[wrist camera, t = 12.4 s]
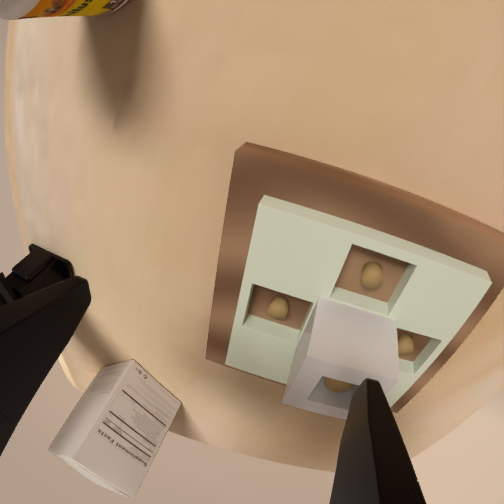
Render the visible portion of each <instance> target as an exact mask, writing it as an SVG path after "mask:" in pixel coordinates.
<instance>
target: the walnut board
mask: <svg viewBox="0 0 504 504" xmlns="http://www.w3.org/2000/svg"><path fill="white" fill-rule="evenodd" d="M264 195H267V196H270V197H274V198H277V199H280V200H284V201H287V202H291V203H294V204H297V205H300V206H304V207H307V208H310V209H314V210H317V211H320V212H323V213H326V214H329V215H333V216H336V217H339V218H342V219H345V220H348V221H351V222H354V223H357V224H360V225H363V226H366V227H369V228H372V229H375V230H378V231H381V232H384V233H387V234H389V235H392V236H395V237H398V238H401V239H404V240H406V241H409V242H412V243H415V244H418V245H420V246H423V247H426V248H429V249H431V250H434V251H437V252H439V253H442V254H445V255H447V256H450V257H452V258H455V259H458V260H460V261H463V262H465V263H468V264H470V265H473V266H475V267H478V268H480V269H483V270H485V271H487V273H488V275H489V277H490V279H491V282H492V284H491V286H490V287H489V289H488V290H487V292H486V293H485V295H484V296H483V298H482V299H481V301H480V302H479V303H478V305H477V306H476V308H475V309H474V310H473V312H472V313H471V315H470V316H469V317H468V319H467V320H466V321H465V323H464V324H463V325H462V327H461V328H460V329H459V331H458V332H457V333H456V335H455V336H454V337H453V338H452V340H451V341H450V342H449V343H448V345H447V346H446V347H445V348H444V350H443V351H442V352H441V353H440V354H439V356H438V357H437V358H436V359H435V360H434V361H433V363H432V364H431V365H430V366H429V367H428V368H427V369H426V371H425V372H424V373H423V374H422V375H421V376H420V377H419V378H418V379H417V381H416V382H415V383H414V384H413V385H412V386H411V387H410V388H409V389H408V390H407V391H406V392H405V393H404V394H403V395H402V396H401V397H400V398H399V399H398V400H397V401H396V402H395V403H394V404H393V405H392V406H391V407H390V408H391V411H392V412H396V413H397V412H398V411H399V410H400V409H401V408H403V407H404V406H405V405H406V404H407V403H408V402H409V401H410V400H411V399H412V398H413V397H414V396H415V395H416V394H417V393H418V392H419V391H420V390H421V389H422V388H423V387H424V386H425V385H426V384H427V383H428V381H429V380H430V379H431V378H432V377H433V376H434V375H435V374H436V373H437V372H438V371H439V370H440V368H441V367H442V366H443V365H444V364H445V363H446V362H447V361H448V359H449V358H450V357H451V356H452V355H453V354H454V352H455V351H456V350H457V349H458V348H459V346H460V345H461V344H462V343H463V342H464V340H465V339H466V338H467V337H468V335H469V334H470V333H471V332H472V330H473V329H474V328H475V326H476V325H477V324H478V322H479V321H480V320H481V318H482V317H483V316H484V314H485V313H486V312H487V310H488V309H489V308H490V306H491V305H492V303H493V302H494V300H495V299H496V298H497V296H498V295H499V293H500V292H501V290H502V289H503V287H504V233H502V232H500V231H498V230H496V229H494V228H492V227H490V226H488V225H486V224H483V223H481V222H479V221H477V220H475V219H472V218H470V217H468V216H466V215H463V214H461V213H459V212H457V211H454V210H452V209H449V208H447V207H445V206H442V205H440V204H437V203H435V202H433V201H430V200H428V199H425V198H423V197H420V196H417V195H415V194H412V193H410V192H407V191H404V190H402V189H399V188H396V187H394V186H391V185H388V184H385V183H382V182H380V181H377V180H374V179H371V178H368V177H365V176H362V175H359V174H356V173H353V172H350V171H347V170H344V169H341V168H338V167H334V166H331V165H328V164H325V163H321V162H318V161H315V160H311V159H308V158H305V157H301V156H298V155H294V154H290V153H287V152H283V151H279V150H276V149H272V148H268V147H264V146H260V145H256V144H252V143H248V142H246V143H245V144H243V145H242V146H241V147H240V148H238V149H237V150H236V151H235V156H234V162H233V168H232V174H231V180H230V187H229V193H228V199H227V206H226V212H225V219H224V225H223V232H222V238H221V245H220V252H219V259H218V266H217V273H216V280H215V288H214V295H213V303H212V310H211V318H210V326H209V333H208V341H207V350H206V358H205V359H208V360H210V361H213V362H216V363H219V364H221V365H224V366H227V367H230V368H233V369H236V370H239V371H241V372H244V373H247V374H250V375H254V376H257V377H260V378H263V379H266V380H269V381H272V382H276V383H279V384H282V385H286V384H284V383H280V382H277V381H274V380H271V379H267V378H264V377H261V376H258V375H255V374H252V373H249V372H246V371H243V370H240V369H237V368H234V367H231V366H228V365H226V364H225V361H226V357H227V352H228V347H229V342H230V337H231V333H232V328H233V323H234V318H235V314H236V309H237V304H238V299H239V294H240V290H241V285H242V280H243V275H244V271H245V266H246V261H247V256H248V252H249V247H250V242H251V238H252V233H253V228H254V223H255V219H256V214H257V209H258V204H259V202H260V201H261V199H262V198H263V196H264ZM408 264H409V263H408V262H405V261H402V260H399V259H396V258H393V257H390V256H387V255H385V254H382V253H379V252H376V251H373V250H370V249H367V248H363V247H360V246H357V245H354V244H352V245H351V248H350V250H349V253H348V255H347V257H346V260H345V262H344V265H343V267H342V269H341V272H340V274H339V276H338V279H337V281H336V283H335V287H338V288H342V289H345V290H348V291H351V292H354V293H358V294H361V295H364V296H367V297H371V298H374V299H377V300H380V301H383V302H388V300H389V299H390V297H391V295H392V293H393V292H394V290H395V288H396V286H397V285H398V283H399V281H400V279H401V277H402V275H403V274H404V272H405V270H406V268H407V266H408ZM310 305H311V302H309V301H306V300H303V299H300V298H297V297H293V296H290V295H287V294H284V293H281V292H278V291H274V290H271V289H268V288H265V287H262V286H259V285H256V284H254V288H253V292H252V296H251V300H250V304H249V308H248V312H247V314H250V315H253V316H257V317H260V318H263V319H266V320H269V321H272V322H275V323H278V324H281V325H285V326H288V327H291V328H294V329H297V330H300V328H301V326H302V324H303V321H304V319H305V317H306V314H307V312H308V309H309V307H310ZM397 339H398V358H400V359H404V360H408V361H412V362H413V361H414V360H415V359H416V358H417V356H418V355H419V354H420V353H421V351H422V350H423V349H424V348H425V346H426V345H427V344H428V342H429V341H430V340H431V339H432V338H431V337H428V336H424V335H421V334H417V333H414V332H410V331H407V330H403V329H400V328H397ZM324 385H325V387H326V388H327V389H329V390H331V391H334V392H345V391H348V390H350V389H351V388H352V386H353V384H351V383H347V382H343V381H339V380H336V379H332V378H328V377H325V382H324Z"/></svg>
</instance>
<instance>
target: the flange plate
mask: <svg viewBox="0 0 504 504" xmlns="http://www.w3.org/2000/svg"><path fill="white" fill-rule="evenodd" d="M352 244H354V245H357V246H360V247H363V248H367V249H370V250H373V251H376V252H379V253H382V254H385V255H387V256H390V257H393V258H396V259H399V260H402V261H405V262H408V263H409V264H408V266H407V268H406V270H405V272H404V274H403V275H402V277H401V279H400V281H399V283H398V285H397V286H396V288H395V290H394V292H393V293H392V295H391V297H390V299H389V300H388V302H383V301H380V300H377V299H374V298H371V297H367V296H364V295H361V294H358V293H354V292H351V291H348V290H345V289H342V288H338V287H335V283H336V281H337V279H338V276H339V274H340V272H341V269H342V267H343V265H344V262H345V260H346V257H347V255H348V253H349V250H350V248H351V245H352ZM254 284H256V285H259V286H262V287H265V288H268V289H271V290H274V291H278V292H281V293H284V294H287V295H290V296H293V297H297V298H300V299H303V300H306V301H309V302H311V305H310V307H309V309H308V312H307V314H306V317H305V319H304V321H303V324H302V326H301V328H300V330H297V329H294V328H291V327H288V326H285V325H281V324H278V323H275V322H272V321H269V320H266V319H263V318H260V317H257V316H253V315H250V314H247V312H248V308H249V304H250V300H251V296H252V292H253V288H254ZM491 284H492V282H491V279H490V277H489V275H488V273H487V271H485V270H483V269H480V268H478V267H475V266H473V265H470V264H468V263H465V262H463V261H460V260H458V259H455V258H452V257H450V256H447V255H445V254H442V253H439V252H437V251H434V250H431V249H429V248H426V247H423V246H420V245H418V244H415V243H412V242H409V241H406V240H404V239H401V238H398V237H395V236H392V235H389V234H387V233H384V232H381V231H378V230H375V229H372V228H369V227H366V226H363V225H360V224H357V223H354V222H351V221H348V220H345V219H342V218H339V217H336V216H333V215H329V214H326V213H323V212H320V211H317V210H314V209H310V208H307V207H304V206H300V205H297V204H294V203H291V202H287V201H284V200H280V199H277V198H274V197H270V196H267V195H264V196H263V198H262V199H261V201H260V202H259V204H258V209H257V214H256V219H255V223H254V228H253V233H252V238H251V242H250V247H249V252H248V256H247V261H246V266H245V271H244V275H243V280H242V285H241V290H240V294H239V299H238V304H237V309H236V314H235V318H234V323H233V328H232V333H231V337H230V342H229V347H228V352H227V357H226V361H225V364H226V365H228V366H231V367H234V368H237V369H240V370H243V371H246V372H249V373H252V374H255V375H258V376H261V377H264V378H267V379H271V380H274V381H277V382H280V383H284V384H286V388H285V392H284V395H283V399H282V403H281V404H285V405H288V406H292V407H295V408H299V409H303V410H306V411H310V412H314V413H318V414H322V415H326V416H330V417H334V418H338V419H343V420H346V419H347V415H348V411H349V407H350V403H351V399H352V396H353V394H354V392H355V390H356V389H357V388H358V387H359V385H360V384H361V383H362V382H363V380H364V379H366V378H370V379H374V380H377V381H379V382H380V384H381V387H382V389H383V391H384V394H385V396H386V399H387V401H388V404H389V406H390V407H391V406H392V405H393V404H394V403H395V402H396V401H397V400H398V399H399V398H400V397H401V396H402V395H403V394H404V393H405V392H406V391H407V390H408V389H409V388H410V387H411V386H412V385H413V384H414V383H415V382H416V381H417V379H418V378H419V377H420V376H421V375H422V374H423V373H424V372H425V371H426V369H427V368H428V367H429V366H430V365H431V364H432V363H433V361H434V360H435V359H436V358H437V357H438V356H439V354H440V353H441V352H442V351H443V350H444V348H445V347H446V346H447V345H448V343H449V342H450V341H451V340H452V338H453V337H454V336H455V335H456V333H457V332H458V331H459V329H460V328H461V327H462V325H463V324H464V323H465V321H466V320H467V319H468V317H469V316H470V315H471V313H472V312H473V310H474V309H475V308H476V306H477V305H478V303H479V302H480V301H481V299H482V298H483V296H484V295H485V293H486V292H487V290H488V289H489V287H490V286H491ZM397 328H400V329H403V330H407V331H410V332H414V333H417V334H421V335H424V336H428V337H431V338H432V339H431V340H430V341H429V342H428V344H427V345H426V346H425V348H424V349H423V350H422V351H421V353H420V354H419V355H418V356H417V358H416V359H415V360H414V361H413V362H412V361H408V360H404V359H400V358H398V339H397ZM325 377H328V378H332V379H336V380H339V381H343V382H347V383H351V384H353V386H352V388H351V389H350V390H348V391H345V392H334V391H331V390H329V389H327V388H326V387H325V385H324V382H325Z"/></svg>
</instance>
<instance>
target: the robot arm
mask: <svg viewBox="0 0 504 504" xmlns="http://www.w3.org/2000/svg"><path fill="white" fill-rule="evenodd" d="M29 251H30V254H28V255H27V256H26V257H25V258H24V259H22V260H21V261H20V262H19V263H18V264H17V265H15V266H14V267H13V268H12V272H11V273H10V274H9V275H8V276H7V277H6V278H5V276H4V274H3V273H2V272H1V273H0V456H1V454H2V452H3V450H4V448H5V446H6V444H7V443H8V441H9V439H10V437H11V435H12V433H13V431H14V430H15V427H16V426H17V424H18V422H19V421H20V419H21V417H22V415H23V414H24V412H25V410H26V409H27V407H28V405H29V403H30V402H31V400H32V398H33V397H34V395H35V393H36V392H37V390H38V388H39V387H40V385H41V384H42V382H43V381H44V379H45V377H46V376H47V374H48V373H49V371H50V370H51V368H52V366H53V365H54V363H55V362H56V360H57V359H58V357H59V356H60V354H61V353H62V351H63V350H64V348H65V347H66V345H67V344H68V342H69V341H70V339H71V337H72V336H73V334H74V332H75V330H76V328H77V326H78V325H79V323H80V321H81V319H82V317H83V316H84V314H85V312H86V310H87V308H88V307H89V305H90V302H91V294H90V289H89V284H88V281H87V280H86V279H84V278H82V277H80V276H74V277H73V274H72V270H71V265H70V263H69V262H68V261H67V260H66V259H64V258H61V257H59V256H57V255H55V254H53V253H51V252H49V251H46V250H44V249H42V248H40V247H38V246H36V245H34V244H31V245H30V246H29ZM330 504H426V502H425V499H424V496H423V493H422V491H421V488H420V485H419V482H417V477H416V474H415V471H414V469H413V466H412V463H411V460H410V457H409V455H408V452H407V449H406V447H405V444H404V441H403V439H402V436H401V434H400V431H399V429H398V426H397V423H396V421H395V418H394V416H393V413H392V411H391V408H390V406H389V404H388V401H387V399H386V396H385V394H384V391H383V389H382V387H381V384H380V382H379V381H377V380H374V379H370V378H366V379H364V380H363V382H362V383H361V384H360V385H359V387H358V388H357V389H356V390H355V392H354V394H353V396H352V399H351V403H350V407H349V411H348V415H347V419H346V423H345V427H344V431H343V435H342V439H341V443H340V448H339V454H338V461H337V467H336V472H335V478H334V483H333V489H332V494H331V499H330Z"/></svg>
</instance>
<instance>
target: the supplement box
mask: <svg viewBox="0 0 504 504" xmlns="http://www.w3.org/2000/svg"><path fill="white" fill-rule="evenodd" d="M180 405H181V402H180V401H179V400H178V399H177V398H176V397H174V396H173V395H172V394H171V393H170V392H169V391H168V390H166V389H165V388H164V387H163V386H162V385H161V384H160V383H159V382H157V381H156V380H155V379H154V378H153V377H152V376H151V375H150V374H149V373H148V372H146V371H145V370H144V369H143V368H142V367H141V366H140V365H139V364H138V363H137V362H136V361H135V360H130V361H126V362H122V363H118V364H114V365H110V366H106V367H102V368H101V369H100V371H99V372H98V374H97V375H96V377H95V378H94V379H93V381H92V382H91V384H90V385H89V387H88V388H87V390H86V391H85V393H84V394H83V396H82V397H81V399H80V400H79V402H78V403H77V405H76V406H75V408H74V409H73V411H72V412H71V414H70V415H69V417H68V418H67V420H66V421H65V423H64V424H63V426H62V428H61V429H60V431H59V432H58V434H57V435H56V437H55V439H54V440H53V442H52V443H51V445H50V446H49V448H48V450H49V451H50V452H51V453H53V454H54V455H55V456H57V457H58V458H59V459H61V460H62V461H64V462H65V463H67V464H68V465H69V466H71V467H72V468H73V469H75V470H76V471H78V472H79V473H81V474H82V475H83V476H85V477H86V478H88V479H89V480H90V481H92V482H94V483H95V484H98V485H99V486H102V487H104V488H106V489H109V490H111V491H114V492H116V493H119V494H121V495H123V496H126V497H128V498H131V499H134V498H135V496H136V494H137V492H138V490H139V488H140V486H141V484H142V481H143V480H144V478H145V476H146V474H147V472H148V470H149V468H150V466H151V463H152V462H153V460H154V458H155V455H156V454H157V452H158V450H159V448H160V445H161V443H162V442H163V440H164V437H165V435H166V433H167V432H168V430H169V427H170V425H171V423H172V421H173V419H174V417H175V415H176V413H177V411H178V409H179V407H180Z"/></svg>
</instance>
